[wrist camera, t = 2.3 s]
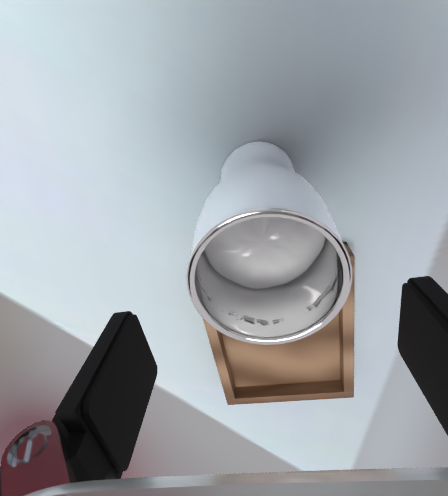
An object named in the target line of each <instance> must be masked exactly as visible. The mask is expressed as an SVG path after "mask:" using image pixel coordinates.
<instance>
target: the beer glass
mask: <svg viewBox="0 0 448 496" xmlns="http://www.w3.org/2000/svg"><path fill="white" fill-rule="evenodd" d="M351 284H352V265H351V261H350V257H349V254H348V252H347V250H346V248H345V246H344V244H343V243H342V240H341V237H340V234H339V232H338V229H337V227H336V224H335V222H334V219H333V217H332V215H331V214H330V212H329V210H328V208H327V206H326V204H325V202H324V201H323V199H322V198H321V197H320V195H319V194H318V193H317V191H316V190H315V189H314V187H313V186H312V185H311V184H310V183H309V182H308V181H307V180H305V179H304V178H303V177H301V176H300V175H299V174H298V173H296V172H295V170H294V167H293V164H292V162H291V160H290V158H289V157H288V155H287V154H286V153H285V152H284V151H283V150H282V149H281V148H279V147H277V146H276V145H273V144H271V143H267V142H251V143H247V144H244V145H242V146H240V147H239V148H237V149H236V150H234V151H233V152H232V153H231V154H230V155H229V156H228V158H227V159H226V161H225V162H224V164H223V167H222V170H221V176H220V182H219V183H218V184H217V185H216V187H215V188H214V189H213V190H212V192H211V193H210V194H209V196H208V198H207V199H206V201H205V204H204V206H203V208H202V210H201V213H200V215H199V218H198V222H197V225H196V229H195V233H194V238H193V244H192V250H191V257H190V260H189V263H188V268H187V287H188V292H189V295H190V298H191V301H192V303H193V305H194V307H195V308H196V310H197V311H198V313H199V314H200V315H201V316H202V318H203V319H204V320H205V321H206V322H207V323H208V324H210V325H211V326H212V327H213V328H215V329H216V330H218V331H219V332H221V333H223V334H225V335H227V336H229V337H231V338H234V339H236V340H240V341H243V342H247V343H253V344H263V345H272V344H283V343H288V342H292V341H296V340H299V339H302V338H305V337H307V336H309V335H311V334H313V333H315V332H317V331H318V330H320V329H322V328H323V327H324V326H326V325H327V324H328V323H329V322H330V321H331V320H332V319H333V318H334V317H335V316H336V315H337V314H338V313H339V311H340V310H341V309H342V307H343V306H344V304H345V302H346V300H347V298H348V295H349V293H350V289H351Z"/></svg>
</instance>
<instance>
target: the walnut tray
mask: <svg viewBox="0 0 448 496" xmlns="http://www.w3.org/2000/svg"><path fill="white" fill-rule="evenodd" d="M343 244H344V246H345V248H346V250H347V252H348V254H349V257H350V261H351V265H352V284H351V289H350V293H349V295H348V298H347V300H346V302H345V304H344V306H343V307H342V309H341V310H340V311H339V313H338V314H337V315H336V316H335V317H334V318H333V319H332V320H331V321H330V322H329V323H328V324H327V325H326V326H324V327H323V328H322V329H320V330H318V331H317V332H315V333H313V334H311V335H309V336H307V337H305V338H302V339H299V340H296V341H292V342H288V343H283V344H272V345H263V344H253V343H247V342H243V341H240V340H236V339H234V338H231V337H229V336H227V335H225V334H223V333H221V332H219V331H218V330H216V329H215V328H213V327H212V326H211V325H210V324H208V323H207V322H206V321H205V320H204V319H203V321H204V324H205V328H206V331H207V334H208V338H209V341H210V345H211V348H212V352H213V355H214V359H215V362H216V366H217V369H218V373H219V376H220V379H221V383H222V386H223V390H224V393H225V397H226V400H227V404H228V405H234V404H251V403H267V402H284V401H300V400H317V399H333V398H350V397H354V255H353V253H352V251H351V250H350V248H349V246H348V245H347V243H346V242H344V243H343Z"/></svg>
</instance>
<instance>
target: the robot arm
mask: <svg viewBox="0 0 448 496" xmlns="http://www.w3.org/2000/svg"><path fill="white" fill-rule="evenodd" d="M398 349H399V352H400V354H401V356H402V358H403V360H404V361H405V363H406V365H407V367H408V368H409V370H410V372H411V374H412V375H413V377H414V379H415V380H416V382H417V384H418V386H419V387H420V389H421V390H422V392H423V394H424V396H425V398H426V399H427V401H428V403H429V404H430V406H431V408H432V410H433V411H434V413H435V415H436V416H437V418H438V420H439V422H440V423H441V425H442V426H443V428H444V430H445V432H446V434H447V435H448V294H447V293H446V292H445V291H444V290H443V289H442V288H441V287H440V286H439V285H438V284H437V283H436V282H435V281H434V280H433V279H432V278H431V277H429V276H425V277H416V278H410V279H409V280H408V282H407V283H404V284H403V286H402V296H401V309H400V321H399V333H398ZM156 376H157V365H156V362H155V360H154V357H153V355H152V352H151V350H150V347H149V345H148V342H147V340H146V337H145V335H144V332H143V330H142V327H141V325H140V322H139V320H138V317H137V316H136V315H133V314H132V313H131V312H130V311H127V312H118V313H114V314H113V315H112V317H111V319H110V320H109V322H108V324H107V325H106V327H105V329H104V330H103V332H102V334H101V335H100V337H99V339H98V341H97V342H96V344H95V346H94V347H93V349H92V351H91V352H90V354H89V356H88V358H87V359H86V361H85V363H84V365H83V366H82V368H81V370H80V371H79V373H78V375H77V376H76V378H75V380H74V381H73V383H72V385H71V386H70V388H69V390H68V392H67V393H66V395H65V397H64V399H63V400H62V402H61V403H60V405H59V407H58V409H57V410H56V412H55V413H56V414H55V416H54V418H53V420H52V421H50V420H42V421H38V422H35V423H33V424H31V425H29V426H27V427H26V428H25V429H23V430H22V431H21V432H19V433H18V434H17V435H16V436H15V437H14V438H13V439H12V440H11V441H10V443H9V444H8V445H7V447H6V448H5V450H4V453H3V455H2V458H1V466H0V496H448V467H436V468H392V469H361V470H327V471H298V472H269V473H242V474H219V475H218V474H216V475H192V476H169V477H144V478H126V479H121V475H122V472H123V471H125V470H127V468H128V466H129V463H130V460H131V457H132V454H133V450H134V447H135V444H136V441H137V437H138V434H139V431H140V428H141V425H142V422H143V418H144V415H145V412H146V408H147V405H148V402H149V399H150V396H151V393H152V389H153V386H154V383H155V380H156Z"/></svg>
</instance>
